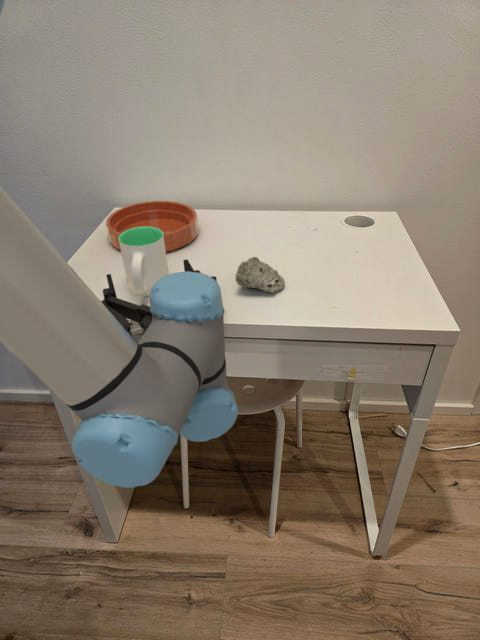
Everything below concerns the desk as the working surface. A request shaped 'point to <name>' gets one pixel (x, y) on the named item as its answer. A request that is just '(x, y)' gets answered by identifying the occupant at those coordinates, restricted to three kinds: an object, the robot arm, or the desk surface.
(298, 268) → the desk surface
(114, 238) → the bowl
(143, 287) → the mug
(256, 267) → the rock sample
